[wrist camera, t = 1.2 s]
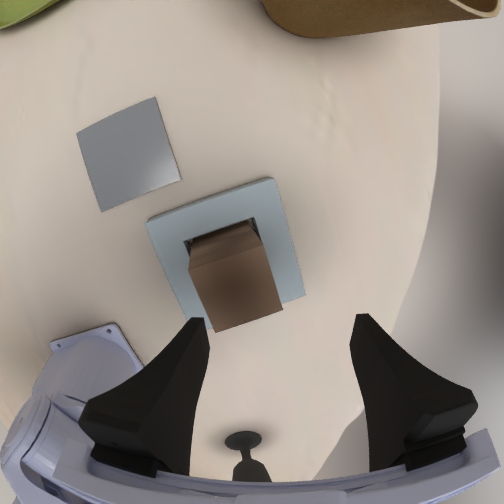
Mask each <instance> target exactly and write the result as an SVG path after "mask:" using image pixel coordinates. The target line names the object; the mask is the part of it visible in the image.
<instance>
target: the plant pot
mask: <svg viewBox="0 0 504 504" xmlns="http://www.w3.org/2000/svg"><path fill="white" fill-rule="evenodd" d="M262 2H263V5H264V7H265V10H266V12H267V13H268V15H269V16H270V18H271V19H272V20H273V21H274V22H275V23H276V24H278V25H279V26H280V27H282V28H283V29H285V30H287V31H289V32H291V33H293V34H295V35H298V36H302V37H307V38H327V37H338V36H348V35H357V34H365V33H372V32H379V31H387V30H394V29H401V28H409V27H415V26H422V25H430V24H436V23H443V22H451V21H459V20H471V19H482V18H492V17H495V16H497V15H498V13H499V12H500V8H501V0H262Z"/></svg>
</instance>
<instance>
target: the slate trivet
mask: <svg viewBox="0 0 504 504" xmlns="http://www.w3.org/2000/svg"><path fill="white" fill-rule="evenodd" d="M76 134H77V138H78V142H79V145H80V149H81V152H82V156H83V159H84V162H85V166H86V169H87V172H88V175H89V178H90V181H91V184H92V187H93V190H94V193H95V196H96V199H97V201H98V204H99V207H100V209H101V212H103V211H106V210H108V209H110V208H112V207H115V206H117V205H119V204H121V203H124V202H126V201H128V200H131V199H133V198H136V197H138V196H140V195H143V194H145V193H148V192H150V191H153V190H155V189H158V188H160V187H163V186H165V185H168V184H171V183H173V182H176V181H179V180H181V176H180V173H179V170H178V167H177V164H176V161H175V158H174V155H173V152H172V149H171V146H170V143H169V140H168V137H167V134H166V130H165V127H164V124H163V121H162V118H161V114H160V111H159V108H158V105H157V101H156V98H155V97H153V98H150V99H148V100H145V101H143V102H140V103H138V104H135V105H133V106H131V107H128V108H126V109H124V110H122V111H120V112H117V113H115V114H113V115H111V116H109V117H107V118H105V119H103V120H101V121H99V122H97V123H95V124H93V125H91V126H89V127H87V128H85V129H83V130H82V131H80V132H78V133H76Z"/></svg>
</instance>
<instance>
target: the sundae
mask: <svg viewBox="0 0 504 504" xmlns="http://www.w3.org/2000/svg"><path fill="white" fill-rule="evenodd" d="M261 440H262V438H261V436H260V435H259V434H257V433H254V432H239V433H235V434H233V435H231V436H229V437H228V438H227V439H226V441H225V444H226V446H227V447H228V448H230V449H233V450H240V452H241V454H242V461H241V462H239V463H238V464H237V465H236V466H235V468H234V470H233V478H232V481H239V482H272V481H271V479H270V476H269V474H268V472H267V470H266V468H265V466H264V465H263V464H262V463H260V462H259V461H257V460H253V459H252V458H251V455H250V449H252V448H254V447H256V446H257V445H259V443H260V442H261Z"/></svg>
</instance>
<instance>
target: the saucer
mask: <svg viewBox="0 0 504 504" xmlns="http://www.w3.org/2000/svg"><path fill="white" fill-rule="evenodd" d="M58 1H59V0H0V29H3V28H6V27H9V26H12V25H14V24H17V23H19V22H22V21H24V20H26V19H28V18H30V17H32V16H34V15H36V14H37V13H39V12H41V11H43V10H44V9H46V8H48V7H49V6H51V5H53V4H54V3H56V2H58Z"/></svg>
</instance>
